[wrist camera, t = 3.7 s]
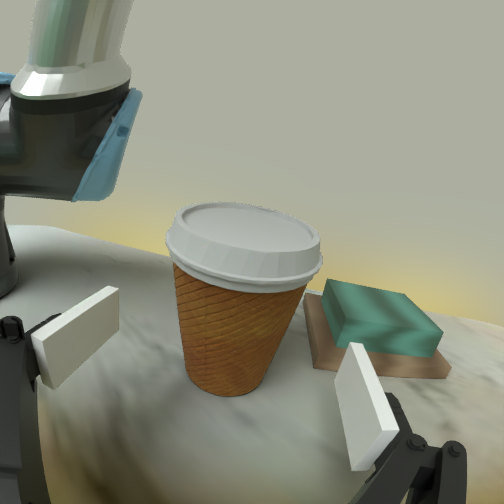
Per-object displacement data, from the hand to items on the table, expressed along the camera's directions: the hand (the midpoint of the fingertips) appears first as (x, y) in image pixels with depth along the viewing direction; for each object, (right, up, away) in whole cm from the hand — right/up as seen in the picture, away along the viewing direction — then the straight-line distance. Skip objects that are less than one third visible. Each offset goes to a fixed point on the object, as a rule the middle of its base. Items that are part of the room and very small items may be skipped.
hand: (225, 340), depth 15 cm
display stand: (+16, -6, +17) cm, 24 cm away
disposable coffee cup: (-1, -5, +7) cm, 8 cm away
